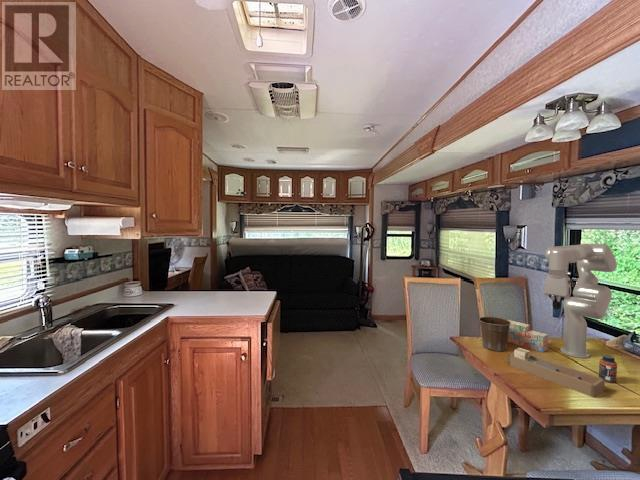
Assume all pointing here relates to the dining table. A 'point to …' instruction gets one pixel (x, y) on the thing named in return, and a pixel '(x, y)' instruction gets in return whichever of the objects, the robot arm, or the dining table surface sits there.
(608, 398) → the dining table surface
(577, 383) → the track
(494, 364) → the dining table surface
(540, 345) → the stack of blocks
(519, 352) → the birch block
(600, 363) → the supplement bottle
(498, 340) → the plant pot
